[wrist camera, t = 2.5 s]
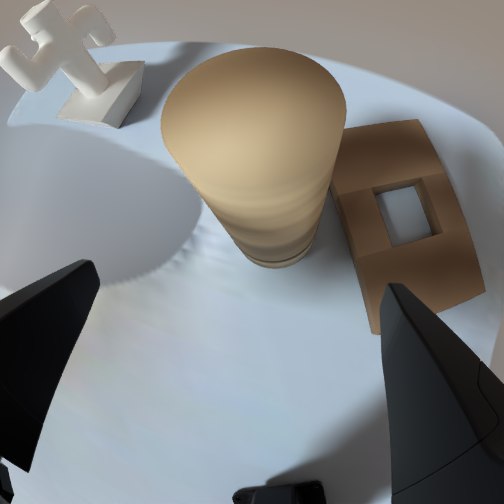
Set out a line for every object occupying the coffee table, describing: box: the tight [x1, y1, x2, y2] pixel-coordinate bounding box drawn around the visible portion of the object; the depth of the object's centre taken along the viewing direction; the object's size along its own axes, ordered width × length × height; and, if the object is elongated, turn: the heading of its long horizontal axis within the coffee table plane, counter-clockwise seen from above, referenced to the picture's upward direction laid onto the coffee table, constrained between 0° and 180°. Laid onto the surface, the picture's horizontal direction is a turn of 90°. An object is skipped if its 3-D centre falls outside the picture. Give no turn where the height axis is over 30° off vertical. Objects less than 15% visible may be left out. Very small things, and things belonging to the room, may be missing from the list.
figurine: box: [0, 0, 145, 129], centre depth 17 cm, size 7×9×15 cm
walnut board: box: [329, 119, 486, 335], centre depth 18 cm, size 14×9×2 cm, turn 13°
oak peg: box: [161, 47, 346, 269], centre depth 13 cm, size 5×5×13 cm
